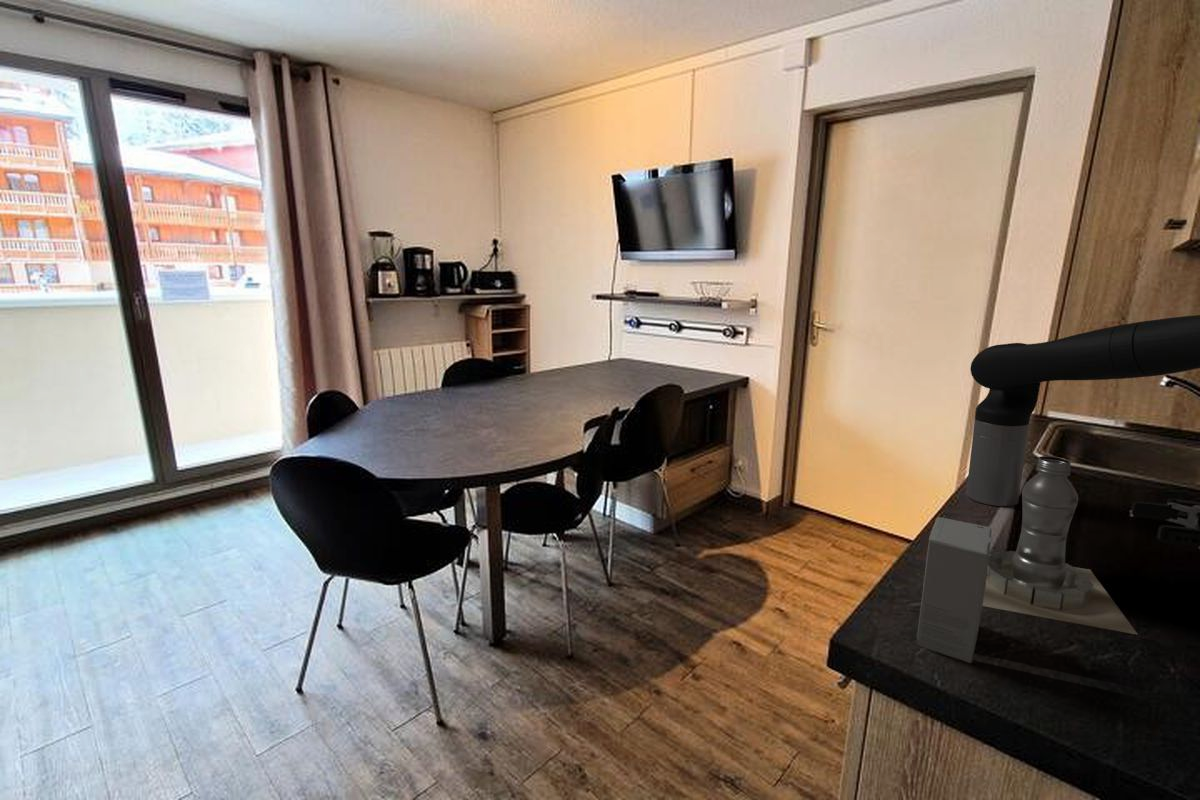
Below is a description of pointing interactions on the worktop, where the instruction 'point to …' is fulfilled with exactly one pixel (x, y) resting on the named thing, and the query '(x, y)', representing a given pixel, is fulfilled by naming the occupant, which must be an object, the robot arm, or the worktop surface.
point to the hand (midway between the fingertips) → (1145, 520)
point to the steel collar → (1037, 594)
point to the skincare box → (954, 588)
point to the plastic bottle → (1045, 524)
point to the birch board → (1093, 614)
